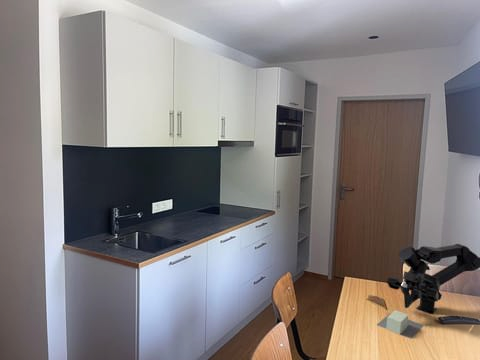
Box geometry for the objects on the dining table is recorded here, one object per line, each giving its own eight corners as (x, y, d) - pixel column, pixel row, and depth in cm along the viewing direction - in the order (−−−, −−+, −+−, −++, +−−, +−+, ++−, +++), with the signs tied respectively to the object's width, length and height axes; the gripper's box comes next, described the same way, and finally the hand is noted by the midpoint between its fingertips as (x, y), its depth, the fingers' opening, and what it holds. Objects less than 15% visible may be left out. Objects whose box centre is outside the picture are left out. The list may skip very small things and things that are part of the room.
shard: (386, 311, 149) (386, 307, 149) (367, 308, 151) (367, 304, 150) (382, 300, 159) (382, 296, 159) (365, 298, 161) (365, 294, 161)
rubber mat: (390, 313, 146) (390, 312, 146) (423, 325, 137) (423, 325, 137) (376, 325, 136) (376, 324, 136) (411, 339, 127) (411, 338, 127)
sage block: (395, 310, 138) (387, 316, 132) (408, 314, 134) (400, 322, 129) (394, 322, 138) (386, 329, 133) (407, 327, 135) (399, 334, 129)
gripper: (389, 258, 146) (377, 291, 140) (439, 270, 134) (428, 307, 127) (395, 270, 153) (383, 303, 146) (442, 283, 140) (432, 319, 134)
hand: (405, 307), depth 138 cm, fingers closed
